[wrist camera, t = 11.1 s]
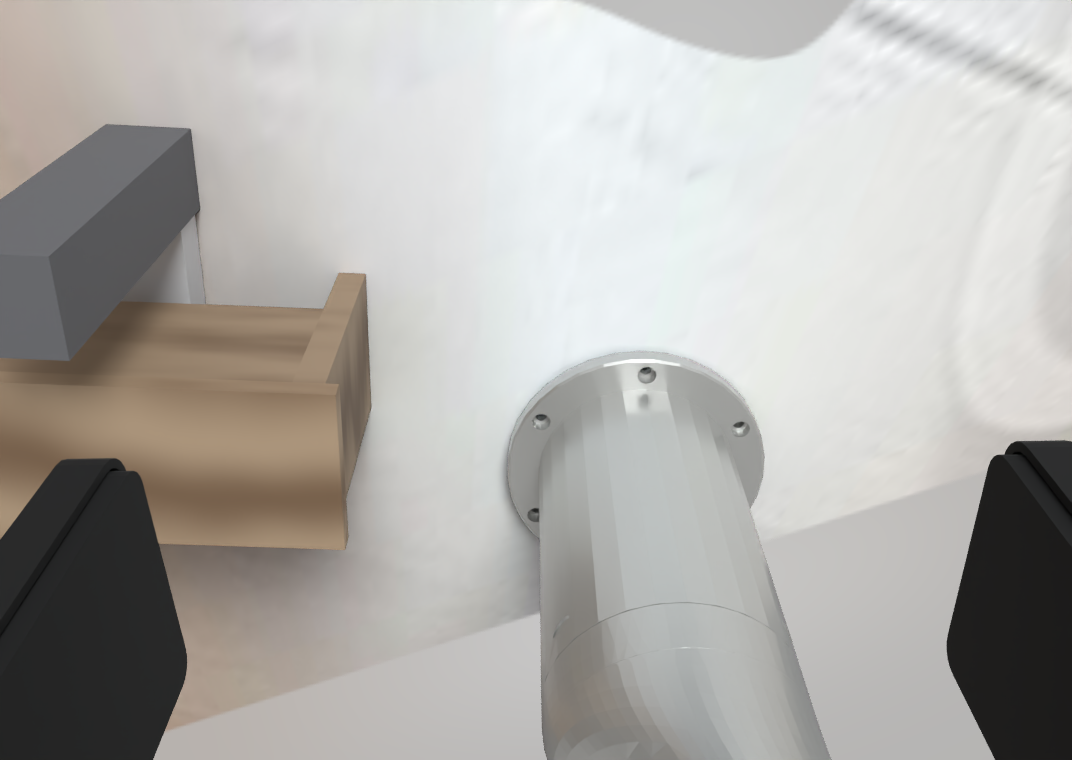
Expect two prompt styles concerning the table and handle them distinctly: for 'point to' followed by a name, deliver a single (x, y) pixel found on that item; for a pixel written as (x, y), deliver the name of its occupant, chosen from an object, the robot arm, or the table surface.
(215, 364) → the wooden bench
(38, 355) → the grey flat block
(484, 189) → the table surface
